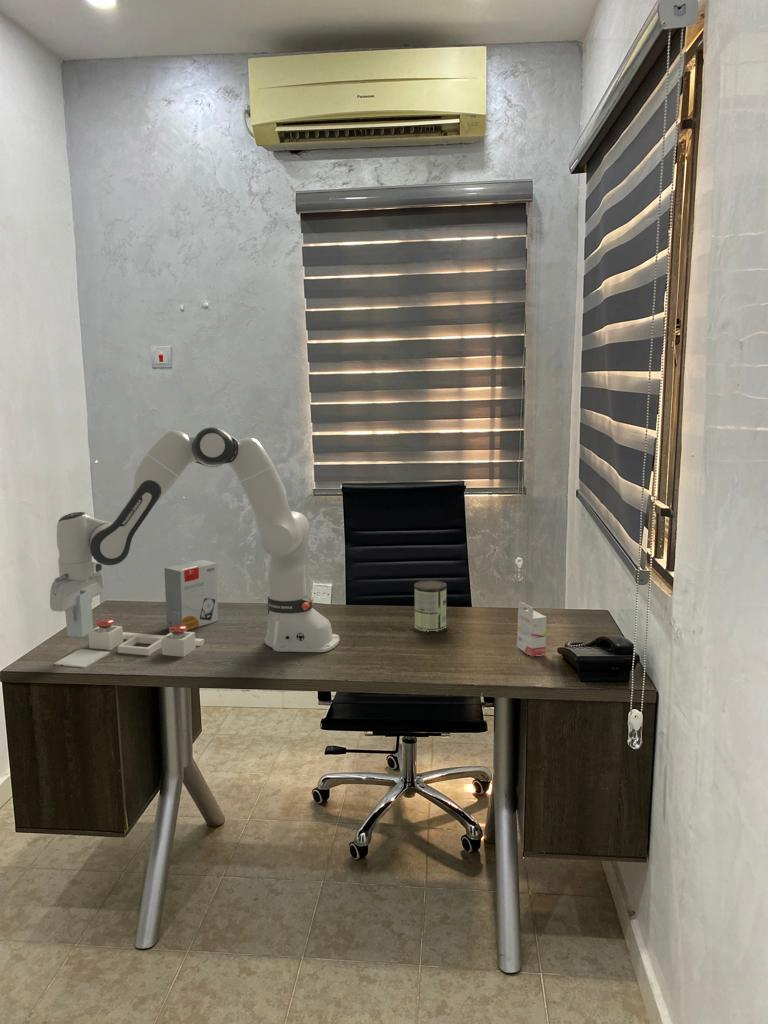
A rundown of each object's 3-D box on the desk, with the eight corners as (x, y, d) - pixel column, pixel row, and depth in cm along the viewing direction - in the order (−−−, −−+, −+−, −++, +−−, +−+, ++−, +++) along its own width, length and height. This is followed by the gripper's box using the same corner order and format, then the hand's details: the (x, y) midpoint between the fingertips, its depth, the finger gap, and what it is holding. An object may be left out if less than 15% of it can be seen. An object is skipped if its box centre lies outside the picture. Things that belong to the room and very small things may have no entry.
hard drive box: (181, 633, 252) (178, 571, 249) (165, 628, 257) (162, 567, 253) (219, 620, 265) (216, 561, 261) (203, 616, 269) (201, 558, 266)
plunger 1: (118, 641, 243) (117, 618, 242) (109, 646, 239) (107, 624, 237) (103, 639, 245) (102, 617, 243) (94, 645, 240) (92, 622, 239)
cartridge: (77, 629, 232) (74, 586, 230) (93, 631, 231) (90, 587, 228) (67, 635, 227) (63, 590, 225) (82, 636, 226) (79, 592, 224)
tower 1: (123, 642, 244) (122, 626, 243) (110, 649, 238) (109, 633, 237) (103, 640, 246) (102, 624, 245) (89, 647, 239) (88, 631, 238)
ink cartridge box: (546, 656, 231) (548, 606, 229) (531, 658, 230) (532, 608, 227) (530, 646, 239) (532, 598, 237) (516, 648, 237) (517, 600, 235)
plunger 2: (190, 647, 238) (189, 624, 236) (182, 653, 233) (181, 630, 232) (175, 646, 239) (174, 623, 238) (167, 652, 234) (165, 628, 233)
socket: (204, 643, 243) (203, 637, 242) (183, 658, 230) (182, 652, 230) (110, 635, 250) (109, 629, 250) (84, 649, 238) (84, 643, 238)
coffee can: (413, 621, 263) (414, 580, 260) (445, 621, 263) (445, 580, 260) (414, 632, 253) (414, 588, 250) (447, 632, 252) (447, 588, 250)
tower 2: (195, 648, 238) (194, 632, 237) (184, 656, 232) (183, 640, 231) (174, 646, 240) (173, 630, 239) (162, 654, 233) (161, 638, 232)
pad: (109, 653, 235) (109, 651, 235) (85, 667, 223) (85, 666, 223) (79, 650, 237) (79, 649, 237) (53, 664, 226) (53, 663, 226)
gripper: (62, 580, 215) (65, 630, 218) (106, 562, 235) (109, 608, 237) (41, 578, 217) (45, 628, 219) (87, 561, 236) (90, 606, 239)
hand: (79, 617), depth 228 cm, fingers closed on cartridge, 5 cm apart
